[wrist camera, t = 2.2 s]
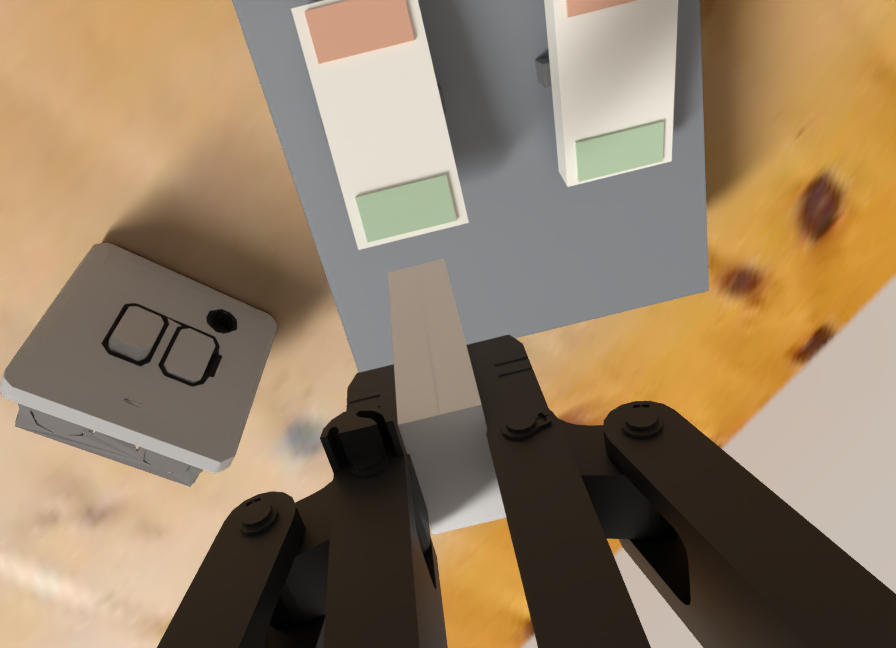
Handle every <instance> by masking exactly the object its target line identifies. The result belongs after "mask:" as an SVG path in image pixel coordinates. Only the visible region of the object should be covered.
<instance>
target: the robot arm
mask: <svg viewBox="0 0 896 648" xmlns="http://www.w3.org/2000/svg"><path fill="white" fill-rule="evenodd" d="M388 282H389V297H390V313H391V328H392V343H393V358H394V364H392V365H388V366H384V367H380V368H376V369H372V370H368V371H364V372H359V373H357V374H356V376H355V377H354V379H353V380H352V382H351V383H350V385H349V387H348V390H347V411H346V412H343V413H342V414H340V415H339V416H337V417H335V418H334V419H332V420H331V421H330V422H329V423H328V424H327V426H326V427H325V428H324V429H323V431H322V434H321V437H320V439H321V442H322V445H323V447H324V450H325V452H326V455H327V457H328V460H329V462H330V465H331V467H332V470H333V472H334V478H333V481H332V482H330V483H329V484H328V485H327V486H325V487H324V488H323V489H321V490H319V491H317V492H316V493H314V494H312V495H310V496H308V497H306V498H304V499H302V500H300V501H298V502H296V503H294V500H293V498H292V497H291V496H289V495H287V494H286V493H284V492H267V493H262V494H258V495H256V496H254V497H252V498H250V499H248V500H246V501H244V502H243V503H241V504H240V505H239V506H238V507H236V508H235V509H234V510H233V511H232V512H231V513H230V515H229V516H228V517H227V519H226V520H225V521H224V523H223V525H222V527H221V529H220V531H219V532H218V534H217V536H216V538H215V540H214V542H213V544H212V546H211V547H210V549H209V551H208V553H207V555H206V557H205V559H204V561H203V562H202V564H201V566H200V568H199V570H198V572H197V574H196V575H195V577H194V579H193V581H192V583H191V585H190V587H189V589H188V590H187V592H186V594H185V596H184V598H183V600H182V602H181V604H180V605H179V607H178V609H177V611H176V613H175V615H174V617H173V619H172V620H171V622H170V624H169V626H168V628H167V630H166V632H165V634H164V635H163V637H162V639H161V641H160V643H159V645H158V647H157V648H448V647H447V639H446V630H445V622H444V614H443V605H442V597H441V589H440V580H439V572H438V563H437V556H436V553H435V550H434V546H433V543H432V540H431V537H430V527H431V530H432V533H433V535H435V534H439V533H443V532H447V531H451V530H456V529H460V528H464V527H468V526H472V525H476V524H481V523H485V522H489V521H493V520H497V519H501V518H507V522H508V526H509V530H510V534H511V539H512V543H513V547H514V551H515V555H516V559H517V563H518V567H519V571H520V575H521V580H522V584H523V588H524V592H525V596H526V600H527V604H528V608H529V612H530V617H531V621H532V625H533V629H534V633H535V637H536V641H537V645H538V648H651V647H650V644H649V642H648V640H647V637H646V635H645V632H644V630H643V627H642V625H641V622H640V620H639V617H638V615H637V613H636V610H635V608H634V605H633V603H632V600H631V598H630V595H629V593H628V591H627V588H626V586H625V583H624V581H623V578H622V576H621V573H620V571H619V568H618V566H617V563H616V561H615V558H614V556H613V553H612V551H611V549H610V546H609V544H608V541H607V539H606V538H610V539H619V541H620V543H621V545H622V547H623V548H624V549H625V551H626V552H627V553H628V554H629V556H630V557H631V558H632V559H633V561H634V562H635V563H636V564H637V566H639V568H640V569H641V570H642V572H643V573H644V574H645V575H646V577H647V578H648V579H649V580H650V582H651V583H652V584H653V585H654V587H655V588H656V589H657V590H658V592H659V593H660V594H661V595H662V597H663V598H664V599H665V600H666V602H667V603H668V604H669V605H670V607H671V608H672V609H673V610H674V611H675V613H676V614H677V615H678V617H679V618H680V619H681V620H682V621H683V622H684V624H685V625H686V626H687V628H688V629H689V630H690V631H691V633H692V634H693V635H694V636H695V638H696V639H697V640H698V641H699V642H700V644H701V645H702V646H703V648H896V594H895V593H894V592H893V591H892V590H890V589H889V588H888V587H887V586H885V585H884V584H883V583H882V582H881V581H879V580H878V579H877V578H876V577H875V576H874V575H872V574H871V573H870V572H869V571H867V570H866V569H865V568H864V567H863V566H861V565H860V564H859V563H858V562H857V561H855V560H854V559H853V558H852V557H851V556H849V555H848V554H847V553H846V552H845V551H843V550H842V549H841V548H840V547H838V546H837V545H836V544H835V543H834V542H832V541H831V540H830V539H829V538H828V537H826V536H825V535H824V534H823V533H822V532H821V531H819V530H818V529H817V528H816V527H815V526H813V525H812V524H811V523H810V522H809V521H807V520H806V519H805V518H804V517H803V516H801V515H800V514H799V513H798V512H797V511H795V510H794V509H793V508H792V507H791V506H789V505H788V504H787V503H786V502H785V501H783V500H782V499H781V498H780V497H779V496H777V495H776V494H775V493H774V492H773V491H771V490H770V489H769V488H768V487H767V486H765V485H764V484H763V483H762V482H760V481H759V480H758V479H757V478H756V477H754V476H753V475H752V474H751V473H750V472H749V471H747V470H746V469H745V468H744V467H742V466H741V465H740V464H739V463H738V462H736V461H735V460H734V459H733V458H732V457H730V456H729V455H728V454H727V453H726V452H725V451H723V450H722V449H721V448H720V447H719V446H717V445H716V444H715V443H714V442H713V441H711V440H710V439H709V438H708V437H707V436H705V435H704V434H703V433H702V432H700V431H699V430H698V429H697V428H696V427H694V426H693V425H692V424H691V423H690V422H688V421H687V420H686V419H685V418H684V417H682V416H681V415H680V414H679V413H678V412H676V411H675V410H674V409H672V408H670V407H668V406H666V405H665V404H661V403H657V402H652V401H635V402H631V403H627V404H623V405H621V406H619V407H617V408H616V409H614V410H612V411H611V412H610V413H609V414H608V416H607V417H606V418H605V420H604V425H596V426H586V425H575V424H571V423H567V422H565V421H562V420H560V419H558V418H557V417H556V416H555V415H554V413H553V412H552V411H551V410H549V408H548V406H547V403H546V401H545V398H544V396H543V393H542V391H541V388H540V386H539V384H538V381H537V379H536V376H535V374H534V371H533V369H532V366H531V364H530V361H529V359H528V356H527V354H526V351H525V349H524V346H523V344H522V343H521V342H519V341H518V340H516V339H515V338H513V337H512V336H511V335H505V336H501V337H496V338H492V339H488V340H484V341H480V342H476V343H472V344H468V345H466V342H465V338H464V334H463V330H462V326H461V322H460V318H459V314H458V310H457V306H456V303H455V299H454V295H453V291H452V287H451V283H450V279H449V275H448V271H447V267H446V263H445V259H440V260H436V261H432V262H428V263H424V264H420V265H416V266H412V267H408V268H404V269H400V270H396V271H391V272H388ZM429 524H430V527H429Z"/></svg>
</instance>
